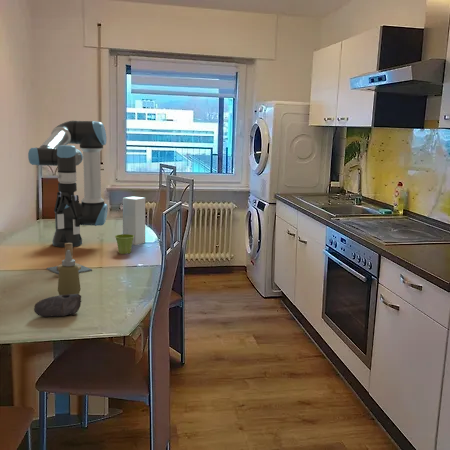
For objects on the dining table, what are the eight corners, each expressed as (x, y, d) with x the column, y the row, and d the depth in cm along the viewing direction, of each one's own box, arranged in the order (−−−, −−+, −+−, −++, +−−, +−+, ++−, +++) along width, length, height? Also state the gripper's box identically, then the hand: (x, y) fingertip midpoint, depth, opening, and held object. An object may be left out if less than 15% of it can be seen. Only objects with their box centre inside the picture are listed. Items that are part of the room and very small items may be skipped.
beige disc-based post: (52, 268, 223) (52, 243, 221) (73, 264, 230) (73, 240, 228) (64, 273, 216) (63, 247, 214) (85, 269, 223) (85, 244, 221)
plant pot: (130, 255, 252) (130, 238, 250) (112, 254, 253) (112, 237, 252) (137, 251, 261) (137, 234, 259) (119, 250, 262) (119, 233, 261)
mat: (46, 269, 223) (46, 267, 222) (75, 264, 232) (75, 262, 232) (62, 276, 213) (62, 274, 213) (91, 270, 223) (91, 269, 223)
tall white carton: (122, 243, 278) (122, 197, 274) (132, 240, 286) (132, 196, 281) (135, 245, 274) (135, 199, 270) (145, 242, 282) (145, 197, 277)
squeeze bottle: (60, 295, 189) (59, 247, 186) (82, 295, 190) (82, 248, 186) (55, 302, 181) (53, 253, 178) (78, 302, 182) (77, 253, 178)
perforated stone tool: (33, 320, 164) (32, 299, 163) (34, 314, 169) (33, 294, 168) (82, 316, 168) (81, 296, 167) (81, 311, 173) (81, 291, 172)
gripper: (45, 179, 222) (46, 227, 226) (74, 186, 205) (75, 237, 209) (61, 178, 227) (62, 225, 231) (90, 184, 210) (91, 235, 214)
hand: (68, 231), depth 220 cm, fingers open, 13 cm apart
